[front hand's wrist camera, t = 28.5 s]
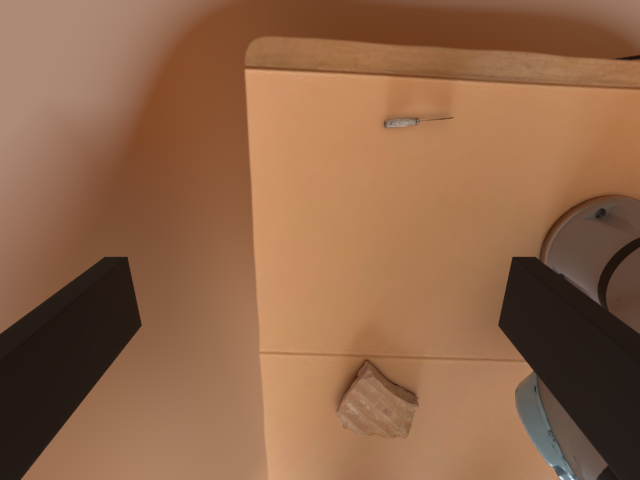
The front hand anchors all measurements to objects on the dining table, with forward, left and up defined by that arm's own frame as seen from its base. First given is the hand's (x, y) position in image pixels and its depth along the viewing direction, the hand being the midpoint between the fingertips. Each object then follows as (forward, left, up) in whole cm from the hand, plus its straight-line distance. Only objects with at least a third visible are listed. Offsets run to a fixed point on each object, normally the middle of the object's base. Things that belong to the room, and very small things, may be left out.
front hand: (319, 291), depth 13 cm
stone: (+34, +21, -35) cm, 53 cm away
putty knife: (-7, +10, -35) cm, 37 cm away
